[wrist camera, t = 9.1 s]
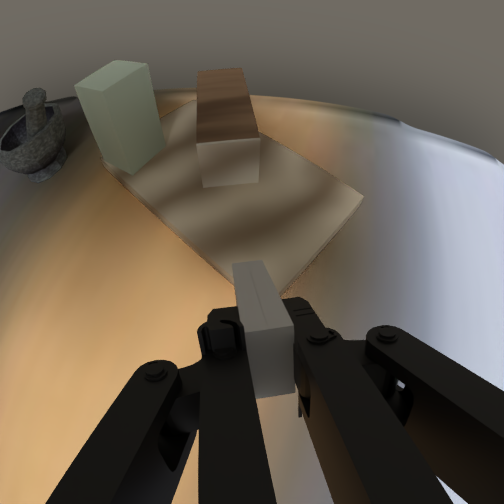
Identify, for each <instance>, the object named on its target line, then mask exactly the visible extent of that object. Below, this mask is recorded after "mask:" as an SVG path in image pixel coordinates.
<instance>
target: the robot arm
mask: <svg viewBox="0 0 504 504" xmlns="http://www.w3.org/2000/svg"><path fill="white" fill-rule="evenodd" d="M232 270H233V279H234V287H235V295H236V303H237V306H235V307H227V308H218V309H213V310H212V311H211V312H210V313H209V315H208V319H207V322H205V323H203V324H202V325H201V326H200V327H199V328H198V330H197V334H198V339H199V344H200V349H201V353H202V359H201V360H199V361H198V362H196V363H195V364H193V365H190V366H187V367H184V368H180V369H178V368H177V366H176V365H175V364H174V363H172V362H171V361H166V360H155V361H150V362H147V363H145V364H143V365H142V366H140V367H139V368H138V369H137V370H136V371H135V372H134V374H133V375H132V377H131V378H130V379H129V381H128V382H127V384H126V385H125V387H124V388H123V389H122V391H121V392H120V394H119V395H118V396H117V398H116V399H115V401H114V402H113V404H112V405H111V406H110V408H109V409H108V411H107V412H106V414H105V415H104V417H103V418H102V419H101V421H100V422H99V424H98V425H97V427H96V428H95V430H94V431H93V433H92V434H91V435H90V437H89V438H88V440H87V441H86V443H85V444H84V446H83V447H82V449H81V450H80V452H79V453H78V455H77V456H76V458H75V459H74V461H73V462H72V464H71V465H70V467H69V468H68V470H67V471H66V473H65V474H64V476H63V477H62V479H61V480H60V482H59V483H58V485H57V486H56V488H55V489H54V491H53V493H52V494H51V496H50V497H49V499H48V500H47V502H46V503H45V504H171V503H172V500H173V497H174V495H175V492H176V489H177V486H178V484H179V481H180V478H181V476H182V473H183V470H184V467H185V465H186V462H187V459H188V456H189V454H190V451H191V448H192V445H193V443H194V440H195V437H196V434H197V430H198V429H199V455H198V503H199V504H277V502H276V498H275V493H274V488H273V483H272V479H271V474H270V469H269V464H268V459H267V454H266V449H265V444H264V439H263V434H262V429H261V424H260V419H259V414H258V408H257V403H256V399H259V398H266V397H272V396H278V395H284V394H290V393H295V383H296V386H297V388H298V416H299V417H302V414H303V417H304V419H305V422H306V425H307V428H308V431H309V434H310V437H311V439H312V442H313V445H314V448H315V451H316V454H317V457H318V459H319V462H320V465H321V468H322V471H323V474H324V476H325V479H326V482H327V485H328V488H329V491H330V493H331V496H332V499H333V502H334V504H453V502H452V501H451V499H450V497H449V496H448V494H447V493H446V491H445V489H444V488H443V486H442V485H441V483H440V482H439V480H438V478H439V479H440V480H442V481H443V482H444V483H445V484H446V485H447V486H448V487H450V488H451V489H452V490H453V491H454V492H455V493H456V494H458V495H459V496H460V497H461V498H462V499H463V500H464V501H466V502H467V503H468V504H504V391H502V390H501V389H499V388H497V387H496V386H494V385H493V384H491V383H489V382H488V381H486V380H484V379H483V378H481V377H480V376H478V375H476V374H475V373H473V372H471V371H470V370H468V369H466V368H465V367H463V366H462V365H460V364H458V363H457V362H455V361H453V360H452V359H450V358H448V357H447V356H445V355H443V354H442V353H440V352H438V351H437V350H435V349H434V348H432V347H430V346H429V345H427V344H425V343H424V342H422V341H420V340H419V339H417V338H415V337H414V336H412V335H410V334H409V333H407V332H405V331H404V330H402V329H400V328H397V327H394V326H389V325H385V326H384V325H382V326H377V327H374V328H372V329H370V330H369V331H368V333H367V334H366V340H343V338H342V337H341V335H340V334H339V333H338V332H337V331H335V330H333V329H330V328H325V326H324V325H323V323H322V322H321V320H320V319H319V317H318V316H317V314H315V311H314V310H313V308H312V307H311V305H310V304H309V302H308V301H306V300H304V299H303V298H301V297H295V298H288V299H281V298H280V296H279V294H278V291H277V289H276V287H275V285H274V283H273V281H272V279H271V277H270V275H269V273H268V271H267V269H266V267H265V265H264V263H263V261H262V260H256V261H248V262H239V263H232ZM398 380H400V381H401V382H402V383H403V384H405V387H404V388H401V387H400V386H398V385H397V384H398ZM436 476H437V477H438V478H437V477H436Z"/></svg>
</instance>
